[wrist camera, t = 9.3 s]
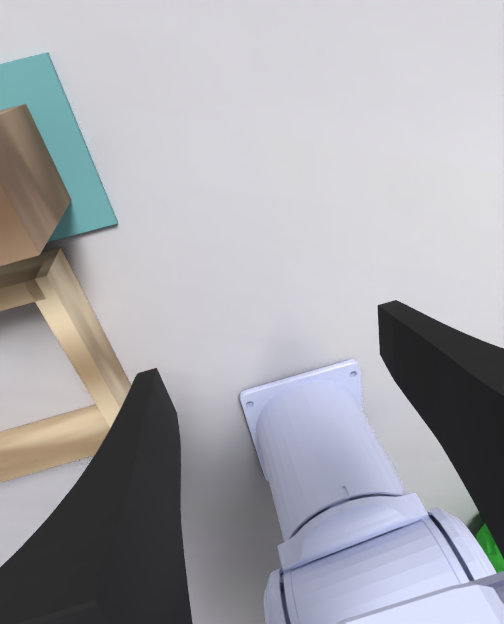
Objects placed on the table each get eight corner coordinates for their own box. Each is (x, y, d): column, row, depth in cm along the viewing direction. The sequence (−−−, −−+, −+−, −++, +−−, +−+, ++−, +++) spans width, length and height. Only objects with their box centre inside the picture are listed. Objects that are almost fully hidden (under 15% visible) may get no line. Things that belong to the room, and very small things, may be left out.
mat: (117, 221, 20) (117, 223, 20) (-28, 260, 20) (-31, 263, 20) (48, 52, 16) (46, 52, 16) (-134, 98, 16) (-138, 99, 16)
